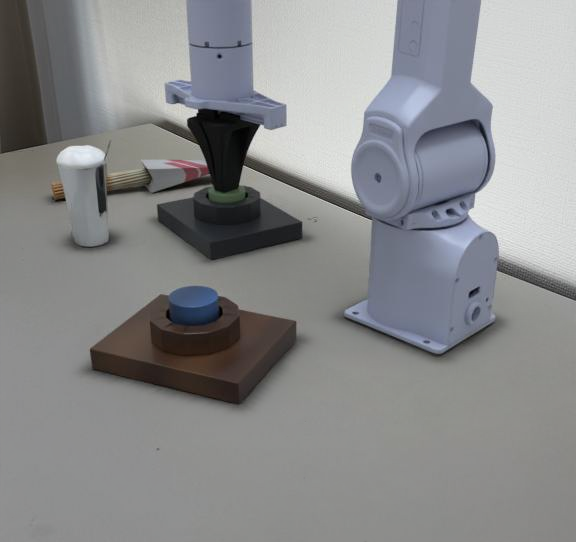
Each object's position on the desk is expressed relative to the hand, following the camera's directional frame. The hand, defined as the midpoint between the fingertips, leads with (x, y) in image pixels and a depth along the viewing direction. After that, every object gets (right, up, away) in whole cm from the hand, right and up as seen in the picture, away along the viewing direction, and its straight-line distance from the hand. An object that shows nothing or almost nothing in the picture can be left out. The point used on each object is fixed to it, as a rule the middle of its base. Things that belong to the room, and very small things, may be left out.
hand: (226, 189), depth 85 cm
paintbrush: (-10, +3, +13) cm, 17 cm away
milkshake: (-13, -5, 0) cm, 14 cm away
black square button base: (0, -3, +2) cm, 4 cm away
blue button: (-1, -14, -21) cm, 26 cm away
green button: (0, -1, +1) cm, 2 cm away
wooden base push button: (-1, -17, -20) cm, 26 cm away
